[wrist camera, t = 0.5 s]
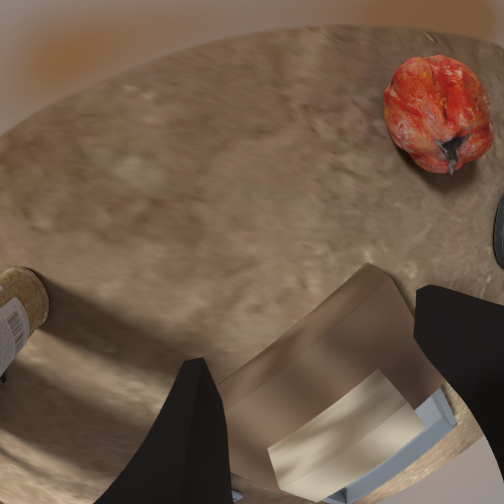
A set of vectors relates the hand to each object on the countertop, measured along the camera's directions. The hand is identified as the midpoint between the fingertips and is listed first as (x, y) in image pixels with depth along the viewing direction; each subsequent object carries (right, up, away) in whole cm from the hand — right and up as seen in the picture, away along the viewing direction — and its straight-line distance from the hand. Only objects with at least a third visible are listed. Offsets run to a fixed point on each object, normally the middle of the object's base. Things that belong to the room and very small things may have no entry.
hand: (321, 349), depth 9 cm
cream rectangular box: (+4, -10, +11) cm, 15 cm away
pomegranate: (+9, +13, +9) cm, 18 cm away
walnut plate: (+3, -9, +13) cm, 16 cm away
